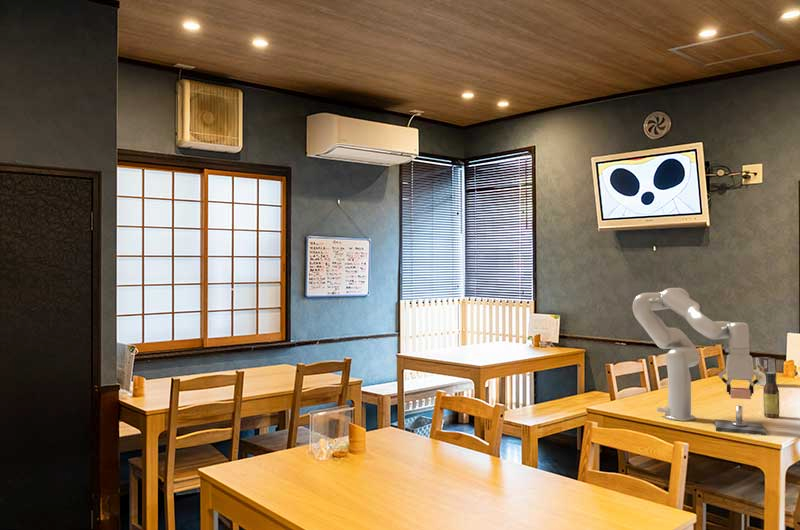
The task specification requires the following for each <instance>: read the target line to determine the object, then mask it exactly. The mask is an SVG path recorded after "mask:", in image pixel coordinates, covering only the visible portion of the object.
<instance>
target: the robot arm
mask: <svg viewBox="0 0 800 530" xmlns="http://www.w3.org/2000/svg"><path fill="white" fill-rule="evenodd" d="M700 308H701V307H700V304H699V303H698V302H696V301H694V300H693V298H691V297H690V294H689V293H688V291H687V290H686V289H684V288H681V287H668V288H665V289H664V290H662V291H658V292H643V293H639V294H638V295H636V296H635V298H634V299H633V301H632V312H633V315H634V316H633V317H635V319H636V320H637V322H638V323H639V324H640V326H641V327H642V328H643V329H644V330H645V332H646V334H648V336H649V337H650V339H652V341H653V342H654V343H655V345H656V346H657V347H658V348H660V349H662V350H668V352H667V353H666V354H665V355H666V356H665V364H666V365H665V366H666V369H667V407H666V406H665V407H661V406H660V407H658V406H657V412H659V413H664V418H665V417H666V419H669V420H673V421H681V422H690V421H694V420H696V417H695V415H693V414H692V376H691V372H690V368H692V367H695V366H697V365H698V364H699V363H700V361H701V354H700V352H699V350H698V348H697V347H696V346H695V345H694V343H693V342H692V341H691V340H690V338H689V337H688V336H687V335H686V334H685V333H684V332H683V331H682V330H681V329H680V328H677V327H668V326H667V325H666V324H665V323H664V321H663V320H662V319H661V317H659V316H658V315H657V314H656V313H655V312H654V311H662V310H668V309H670V310H672V311H674V312H675V313H676V314H678V315H680V316H681V317H682V318H684V319H685V320H686V322H688V324H689V325H690V326H691V328H692V329H694V330H695V331H697V333H700V335H702V336H704V337H705V338H708V339H709V340H716V341H717V340H724V339H728V347H727V348H724V353H728V354H727V356H726V362H725V363H726V364H725V369H724V370H722V371H721V372H720V373H718V374H717V376H718V377H719V379H721V381H723V383H724V384H725V385H726V393H728V395H729V396H730V394H731V387H732V386H731V382H732V381H733V380H736V381H737V380H739V381H748V383H749V385H748V388H749V389H750V391H751V397H753V394H754V386H756V383H757V382H758V381H759V380H760V379H761V378H762V376H760V375H759V374H758V373H756V370H754V362H753V357H752V355H750V334H749V333H750V331H749V328H750V327H749V325H748V323H746V322H740V321H739V322H738V321H737V322H736V321H734V322H730V321H725V320H719V321H713V320H712V319H711V318H709V317H707V316H706V315H704V314H703V313H702V312H701V311H700ZM724 375H726V376H725V377H726V378H725V377H724ZM754 376H755V379H754ZM756 376H757V378H756Z"/></svg>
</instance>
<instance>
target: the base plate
mask: <svg viewBox="0 0 800 530" xmlns="http://www.w3.org/2000/svg"><path fill="white" fill-rule="evenodd" d="M733 421H734V420H725V419H714V426H715V427H716V428H715V427H714V428H715V431H716V432H722V431H724V433H733V434H735V433H736V434H745V433H748V434H747V435H756V434H761V435H760V436H767V431H766V429H765V426H764V424H763V423H762V422H751V421H744V422H745V423H747V427H737V426H733V425H731V422H733Z"/></svg>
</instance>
